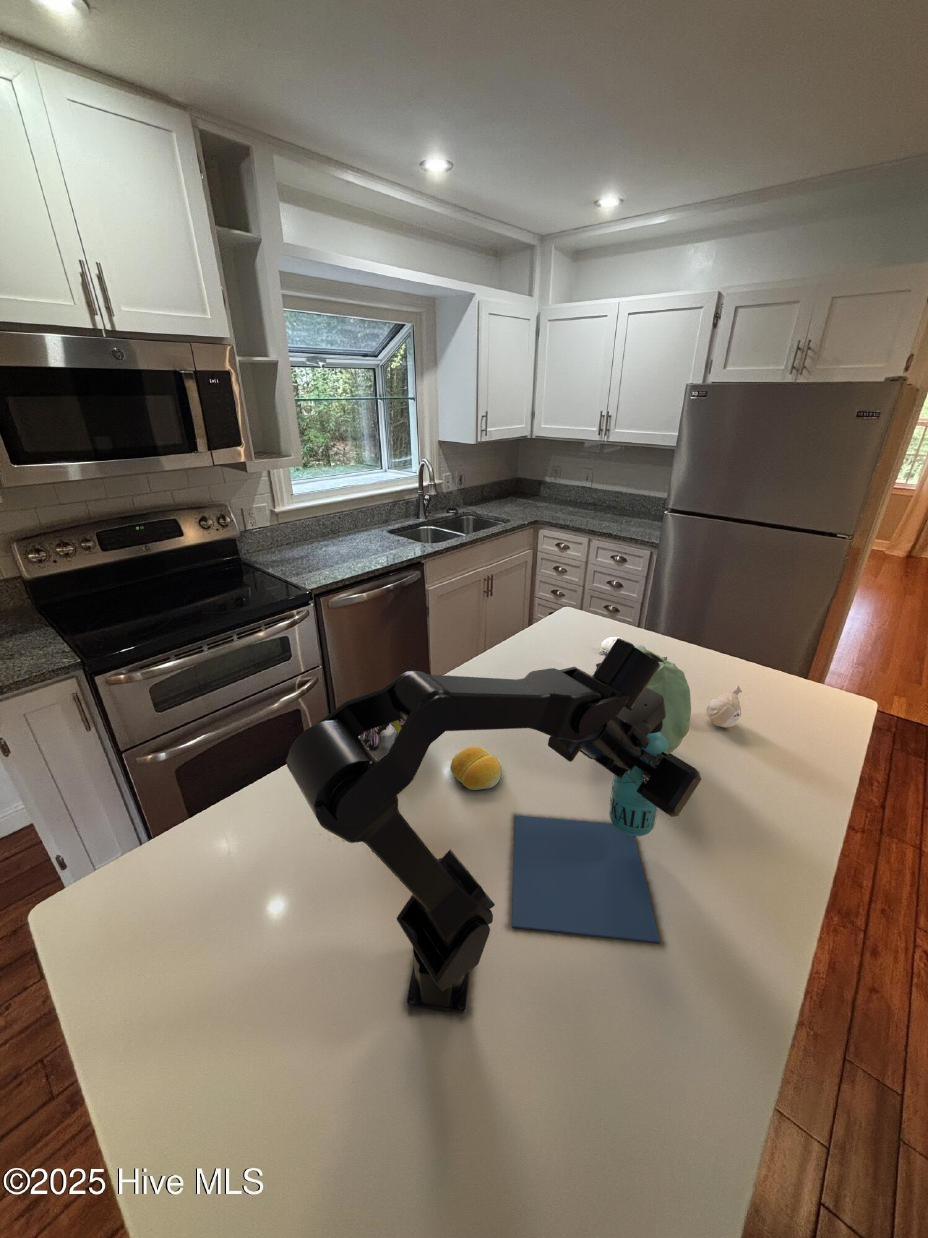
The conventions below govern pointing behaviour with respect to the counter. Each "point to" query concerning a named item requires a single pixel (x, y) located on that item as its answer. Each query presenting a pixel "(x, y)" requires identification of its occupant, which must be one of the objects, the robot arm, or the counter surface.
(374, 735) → the decorative flower
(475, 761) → the bread roll
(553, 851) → the cloth
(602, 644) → the dumpling
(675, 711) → the cabbage
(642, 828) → the beverage bottle
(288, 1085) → the counter surface
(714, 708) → the garlic bulb
